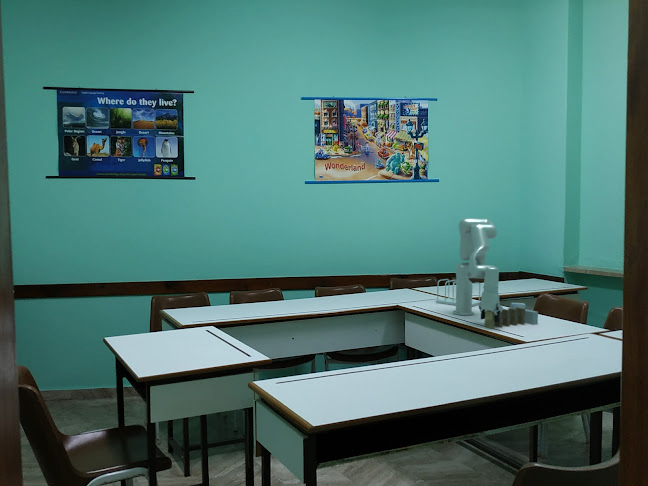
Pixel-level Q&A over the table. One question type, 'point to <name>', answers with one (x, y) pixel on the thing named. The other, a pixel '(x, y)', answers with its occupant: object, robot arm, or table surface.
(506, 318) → the domino
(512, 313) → the domino
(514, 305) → the medicine box
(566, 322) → the table surface
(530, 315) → the bookend block
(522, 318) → the domino
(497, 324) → the domino
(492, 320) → the domino
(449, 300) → the file sorter
